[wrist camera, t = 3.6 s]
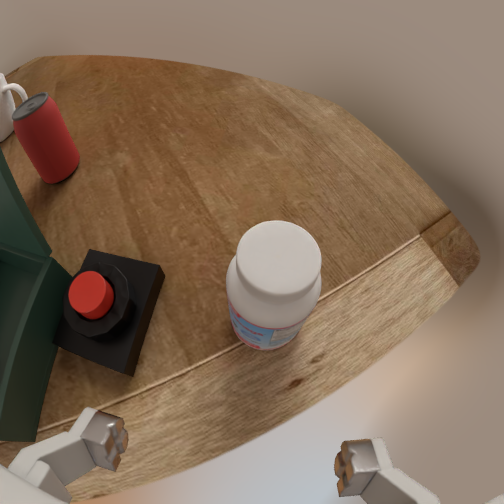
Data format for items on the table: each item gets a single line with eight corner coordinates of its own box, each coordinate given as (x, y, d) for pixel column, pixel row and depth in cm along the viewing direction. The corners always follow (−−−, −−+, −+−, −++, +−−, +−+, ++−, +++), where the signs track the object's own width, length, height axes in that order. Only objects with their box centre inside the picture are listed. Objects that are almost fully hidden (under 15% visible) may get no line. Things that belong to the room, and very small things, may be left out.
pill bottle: (219, 304, 26) (203, 233, 17) (279, 275, 28) (296, 195, 18) (251, 364, 24) (254, 329, 14) (313, 331, 25) (355, 275, 15)
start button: (105, 324, 21) (96, 318, 20) (72, 312, 22) (62, 305, 20) (120, 285, 23) (112, 275, 22) (87, 275, 23) (78, 266, 22)
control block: (133, 377, 23) (114, 370, 19) (63, 348, 23) (40, 337, 20) (165, 275, 28) (154, 254, 24) (97, 259, 28) (81, 238, 25)
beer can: (58, 191, 33) (19, 124, 23) (37, 179, 35) (1, 119, 24) (89, 158, 36) (60, 89, 26) (65, 149, 38) (37, 88, 27)
